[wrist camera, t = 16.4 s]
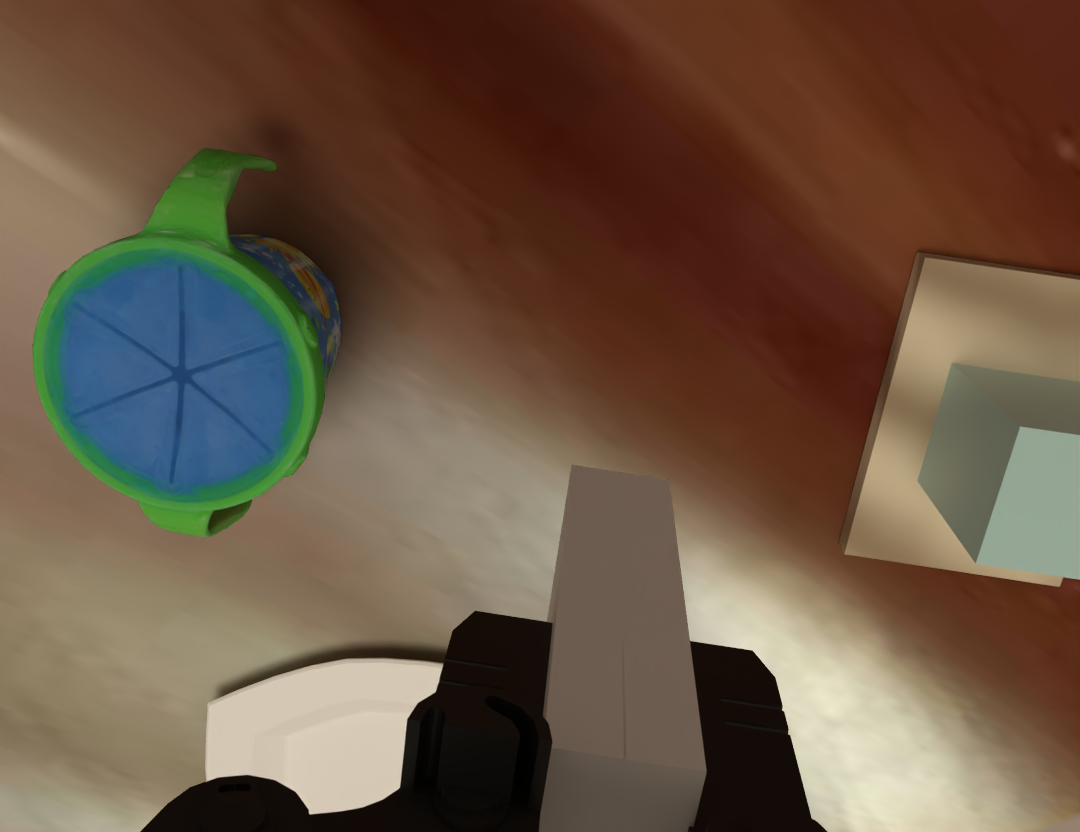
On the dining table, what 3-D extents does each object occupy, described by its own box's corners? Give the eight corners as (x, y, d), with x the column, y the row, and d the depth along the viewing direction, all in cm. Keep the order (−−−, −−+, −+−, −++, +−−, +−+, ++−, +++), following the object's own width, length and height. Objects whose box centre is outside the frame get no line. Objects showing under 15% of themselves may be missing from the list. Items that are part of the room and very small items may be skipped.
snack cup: (177, 108, 43) (51, 124, 33) (414, 179, 43) (358, 215, 33) (130, 433, 48) (9, 528, 38) (341, 494, 48) (274, 603, 39)
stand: (916, 251, 42) (974, 289, 36) (1151, 286, 42) (1254, 330, 35) (838, 542, 47) (876, 623, 41) (1048, 574, 47) (1121, 661, 40)
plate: (591, 911, 57) (591, 940, 55) (269, 933, 59) (258, 961, 57) (538, 620, 50) (535, 642, 49) (179, 657, 53) (163, 679, 51)
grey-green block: (917, 481, 45) (975, 563, 38) (951, 363, 43) (1020, 426, 36) (1041, 499, 45) (1124, 586, 37) (1082, 382, 43) (1177, 449, 35)
